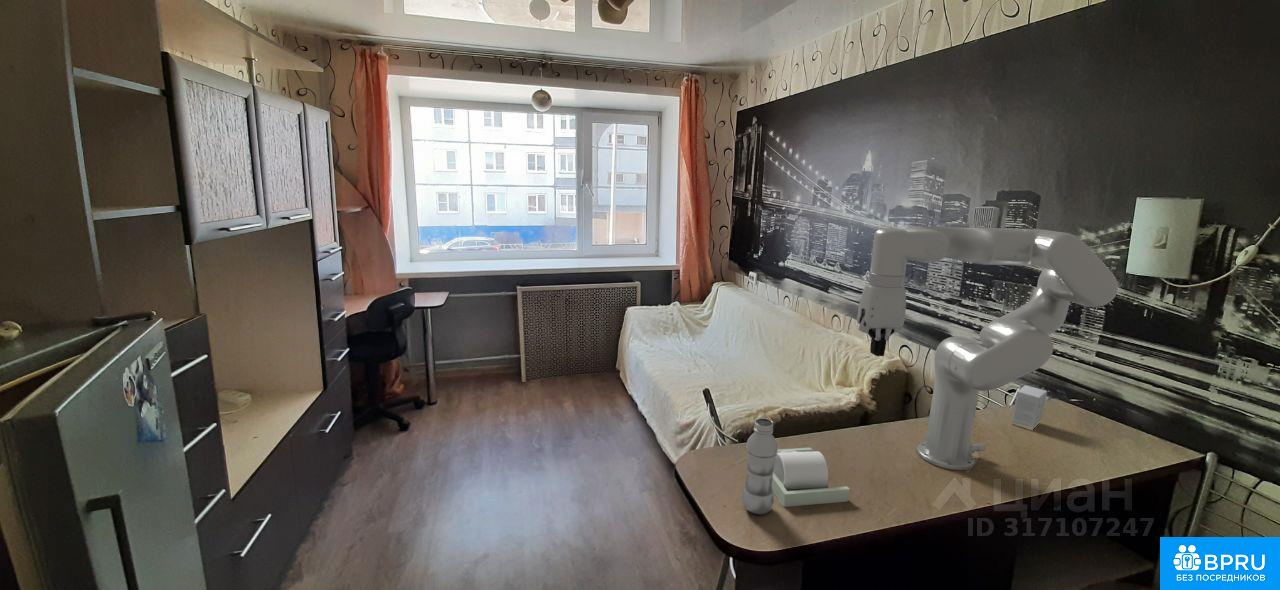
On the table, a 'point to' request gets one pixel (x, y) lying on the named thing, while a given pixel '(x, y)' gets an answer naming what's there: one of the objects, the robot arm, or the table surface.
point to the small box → (1029, 406)
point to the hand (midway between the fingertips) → (877, 354)
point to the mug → (801, 470)
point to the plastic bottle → (760, 468)
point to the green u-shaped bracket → (808, 491)
